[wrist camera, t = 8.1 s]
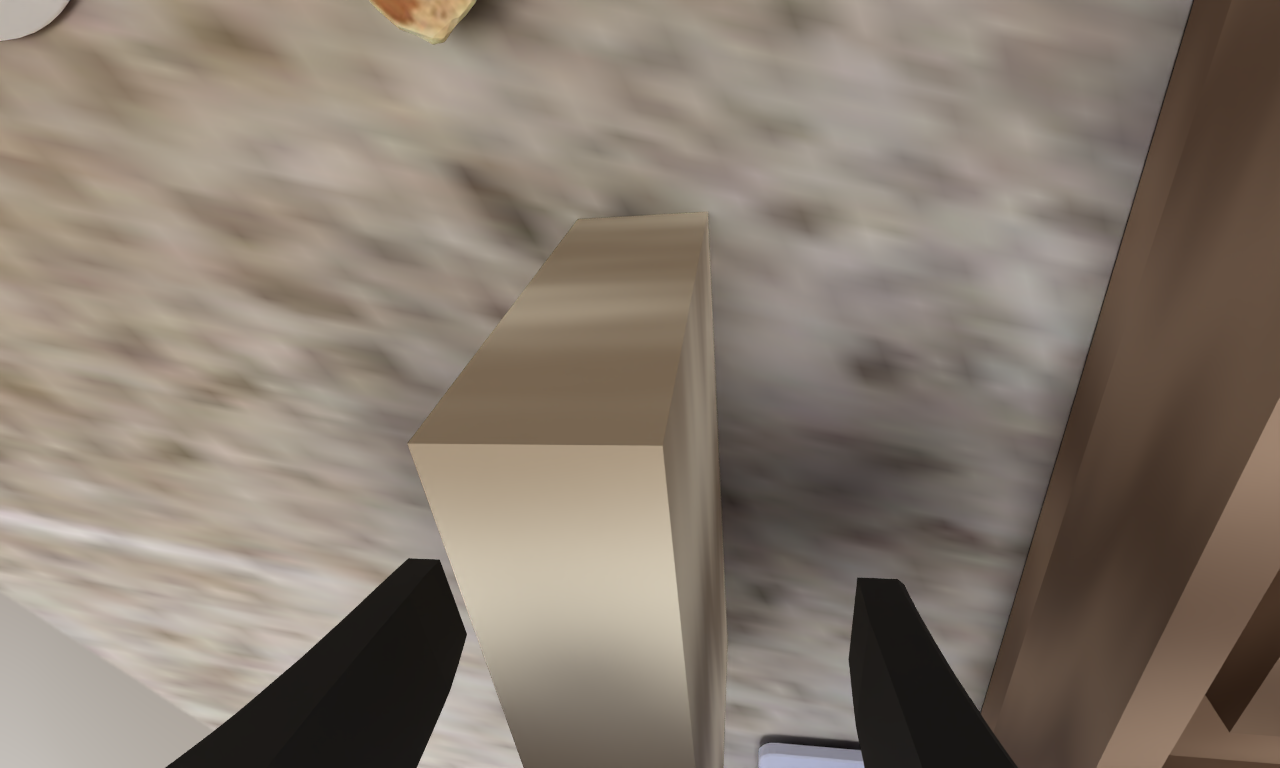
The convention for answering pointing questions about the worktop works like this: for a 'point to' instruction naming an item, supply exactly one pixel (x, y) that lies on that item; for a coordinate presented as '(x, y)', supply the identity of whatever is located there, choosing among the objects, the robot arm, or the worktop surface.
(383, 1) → the shard
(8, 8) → the cosmetic bottle
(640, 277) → the birch sheet
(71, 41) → the worktop surface
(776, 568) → the worktop surface
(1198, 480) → the rack
